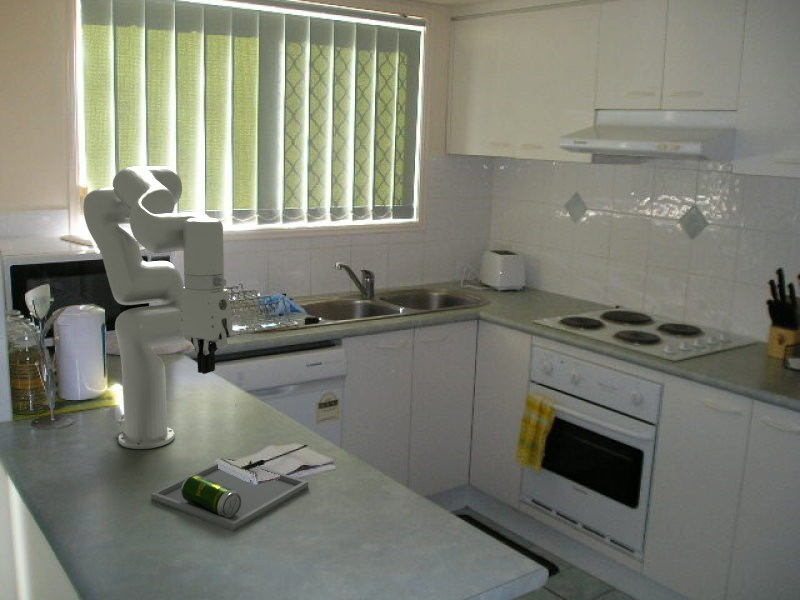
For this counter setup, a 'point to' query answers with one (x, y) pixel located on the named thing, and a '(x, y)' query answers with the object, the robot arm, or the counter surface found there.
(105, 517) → the counter surface
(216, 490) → the beer can
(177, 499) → the grey rimmed serving tray
